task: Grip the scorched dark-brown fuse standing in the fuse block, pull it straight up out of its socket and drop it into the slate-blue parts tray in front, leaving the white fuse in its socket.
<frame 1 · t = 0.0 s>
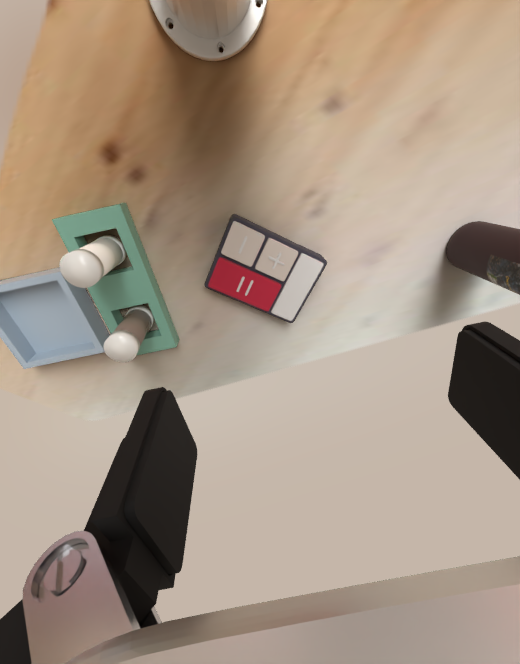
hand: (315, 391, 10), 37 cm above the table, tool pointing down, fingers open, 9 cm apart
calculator: (263, 267, 46), on the table
blown fuse: (141, 316, 48), resting in fuse block
parts tray: (53, 314, 46), on the table
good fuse: (111, 249, 42), resting in fuse block
wine bottle: (466, 244, 46), on the table
fuse block: (127, 285, 45), on the table
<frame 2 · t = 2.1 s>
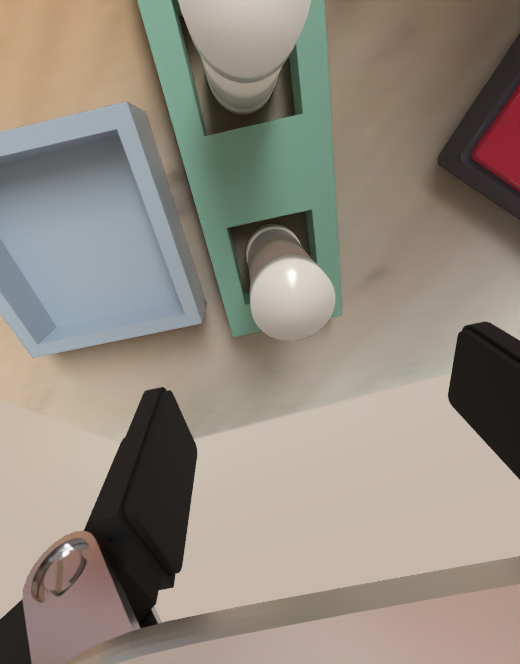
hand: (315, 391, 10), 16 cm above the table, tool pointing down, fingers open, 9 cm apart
blown fuse: (272, 251, 23), resting in fuse block
parts tray: (93, 242, 22), on the table
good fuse: (241, 71, 17), resting in fuse block
fuse block: (259, 173, 20), on the table
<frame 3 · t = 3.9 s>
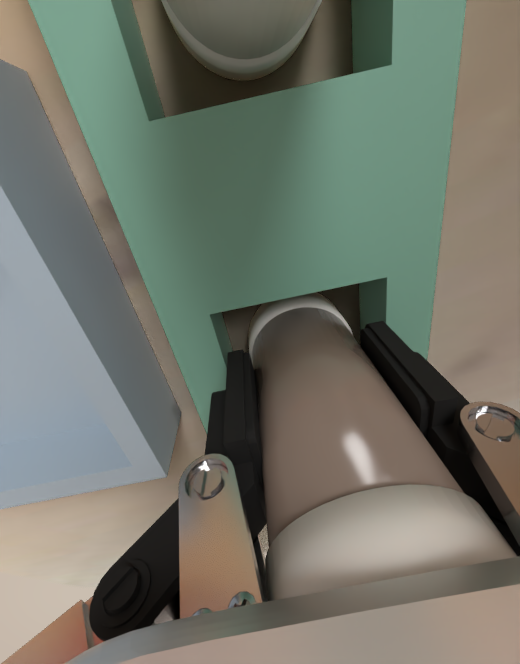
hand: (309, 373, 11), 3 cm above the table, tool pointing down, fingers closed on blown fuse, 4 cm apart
blown fuse: (295, 334, 13), resting in fuse block, touching gripper
fuse block: (274, 202, 10), on the table
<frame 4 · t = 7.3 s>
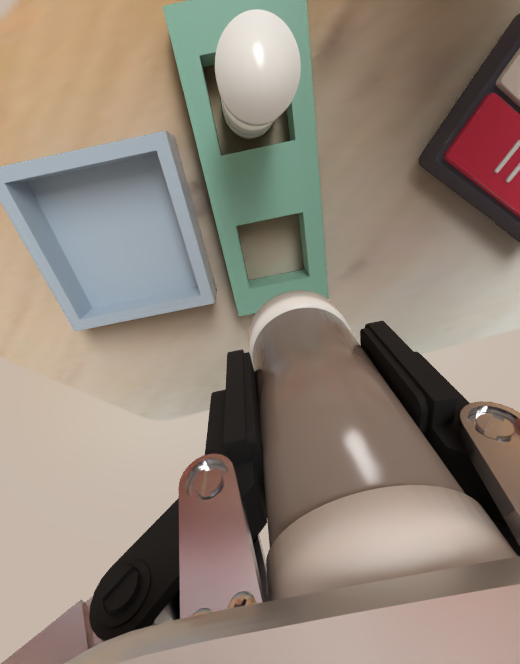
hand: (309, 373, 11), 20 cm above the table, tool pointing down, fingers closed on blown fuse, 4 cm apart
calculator: (514, 146, 26), on the table
blown fuse: (295, 334, 13), point 17 cm above the table, touching gripper
parts tray: (127, 237, 27), on the table
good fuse: (249, 107, 23), resting in fuse block
fuse block: (261, 184, 26), on the table
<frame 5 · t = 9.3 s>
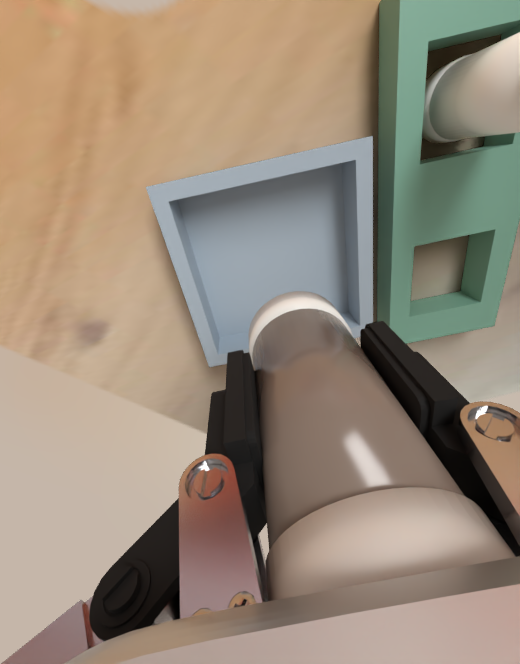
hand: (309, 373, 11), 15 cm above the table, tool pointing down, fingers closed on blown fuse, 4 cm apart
blown fuse: (295, 335, 13), point 12 cm above the table, touching gripper
parts tray: (271, 258, 23), on the table
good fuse: (447, 104, 19), resting in fuse block
fuse block: (437, 195, 22), on the table
when the fingers open (6 cm above the table, at t = 11.1 s): blown fuse drops 3 cm, resting on parts tray.
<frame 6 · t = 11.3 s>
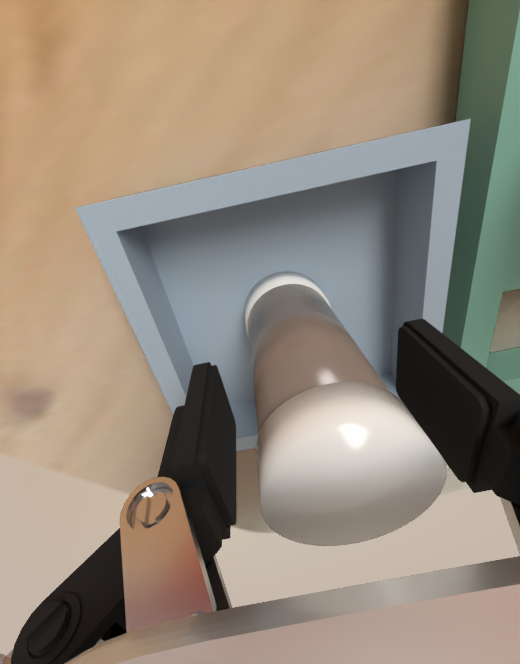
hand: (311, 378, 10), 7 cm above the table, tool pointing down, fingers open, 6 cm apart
blown fuse: (284, 310, 15), point 1 cm above the table, touching parts tray
parts tray: (284, 303, 16), on the table
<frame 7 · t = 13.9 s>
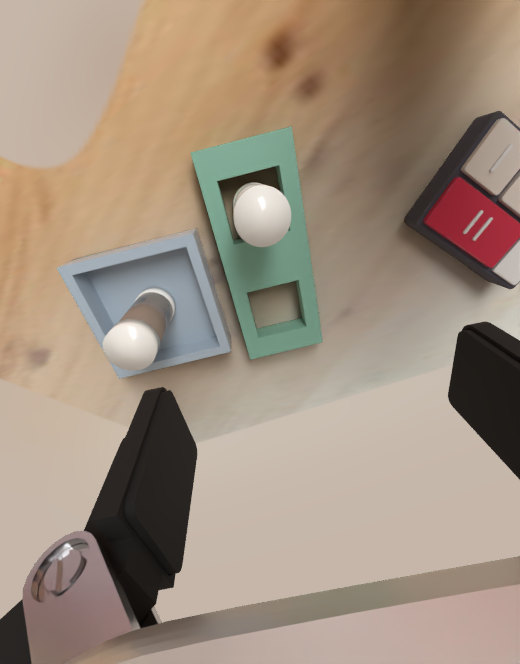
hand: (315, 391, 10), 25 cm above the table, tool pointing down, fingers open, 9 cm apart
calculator: (480, 208, 33), on the table
blown fuse: (157, 304, 33), point 1 cm above the table, touching parts tray
parts tray: (159, 301, 34), on the table
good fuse: (253, 205, 30), resting in fuse block
fuse block: (265, 257, 32), on the table
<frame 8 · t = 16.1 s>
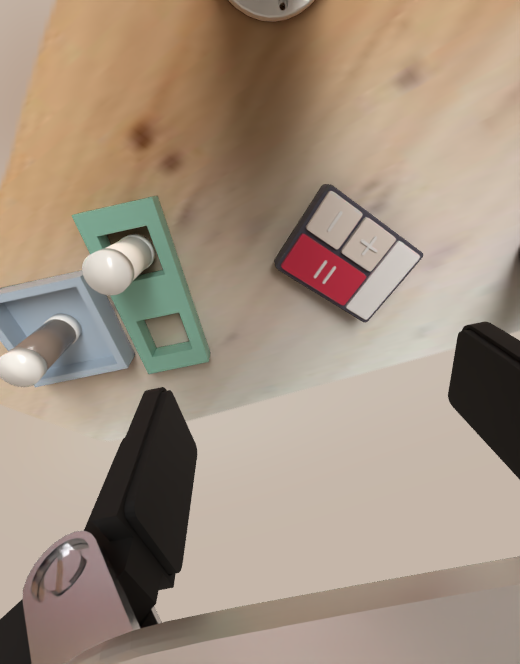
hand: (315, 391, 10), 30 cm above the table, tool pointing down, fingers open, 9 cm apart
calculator: (341, 254, 39), on the table
blown fuse: (65, 327, 40), point 1 cm above the table, touching parts tray
parts tray: (69, 324, 40), on the table
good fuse: (138, 251, 36), resting in fuse block
fuse block: (154, 291, 39), on the table
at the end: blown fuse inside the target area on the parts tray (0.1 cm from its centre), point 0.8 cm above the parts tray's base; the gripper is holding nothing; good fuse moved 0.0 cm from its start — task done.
